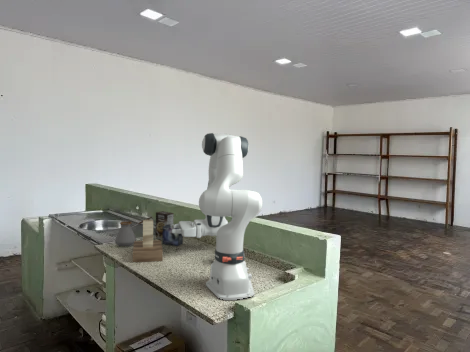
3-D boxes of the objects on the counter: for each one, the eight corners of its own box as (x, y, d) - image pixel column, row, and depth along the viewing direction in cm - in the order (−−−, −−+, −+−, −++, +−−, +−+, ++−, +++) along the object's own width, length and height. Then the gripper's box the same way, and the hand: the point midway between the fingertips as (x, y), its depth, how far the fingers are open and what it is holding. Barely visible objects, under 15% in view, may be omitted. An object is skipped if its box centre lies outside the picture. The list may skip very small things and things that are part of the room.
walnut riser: (162, 260, 160) (162, 250, 159) (132, 262, 156) (132, 252, 156) (160, 249, 179) (160, 240, 178) (134, 250, 175) (134, 241, 175)
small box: (161, 244, 188) (161, 226, 187) (167, 241, 194) (167, 224, 193) (178, 246, 185) (178, 228, 184) (183, 243, 191) (183, 225, 190)
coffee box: (154, 238, 200) (155, 212, 199) (161, 236, 206) (162, 210, 205) (166, 240, 196) (167, 214, 195) (173, 238, 202) (173, 212, 200)
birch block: (153, 246, 165) (153, 221, 164) (142, 247, 164) (143, 221, 163) (152, 244, 170) (153, 219, 169) (142, 244, 169) (143, 219, 168)
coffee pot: (117, 249, 176) (118, 221, 175) (112, 243, 186) (112, 217, 185) (156, 244, 188) (156, 218, 187) (149, 239, 198) (149, 214, 197)
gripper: (194, 218, 183) (169, 218, 179) (200, 226, 163) (172, 227, 160) (194, 229, 183) (169, 230, 180) (200, 238, 164) (172, 239, 160)
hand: (171, 228), depth 169 cm, fingers open, 8 cm apart
